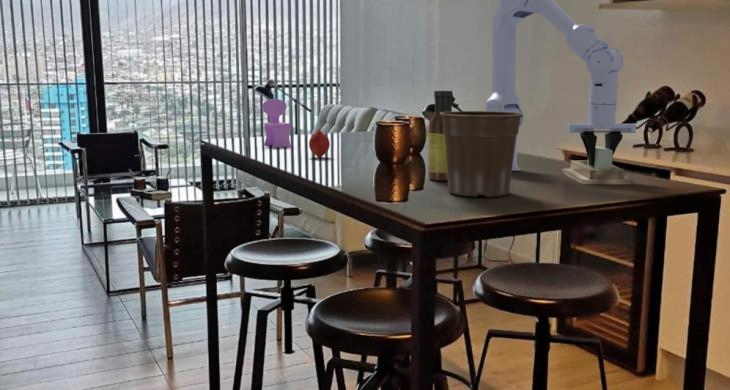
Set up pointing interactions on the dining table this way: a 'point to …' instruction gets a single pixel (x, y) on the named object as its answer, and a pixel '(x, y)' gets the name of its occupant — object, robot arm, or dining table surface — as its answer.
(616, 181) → the beige rectangular tray
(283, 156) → the dining table surface
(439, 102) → the sauce bottle
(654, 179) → the dining table surface
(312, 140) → the onion
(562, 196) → the dining table surface
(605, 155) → the pale teal block
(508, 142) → the plant pot
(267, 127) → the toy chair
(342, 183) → the dining table surface
